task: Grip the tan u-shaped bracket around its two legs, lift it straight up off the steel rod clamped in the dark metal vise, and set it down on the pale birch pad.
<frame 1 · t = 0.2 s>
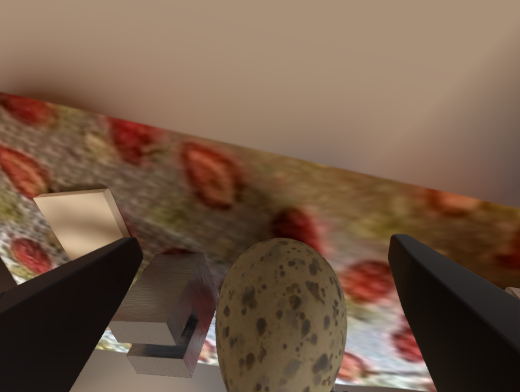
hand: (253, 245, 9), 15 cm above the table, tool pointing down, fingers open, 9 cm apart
decorative egg: (284, 255, 27), on the table
vise: (188, 278, 31), on the table
birch pad: (91, 225, 29), on the table
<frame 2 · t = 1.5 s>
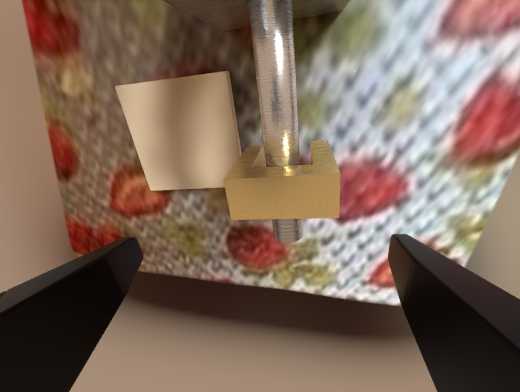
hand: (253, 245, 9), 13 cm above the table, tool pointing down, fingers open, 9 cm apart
tan u-shaped bracket: (287, 159, 19), point 2 cm above the table, touching vise
birch pad: (187, 136, 21), on the table
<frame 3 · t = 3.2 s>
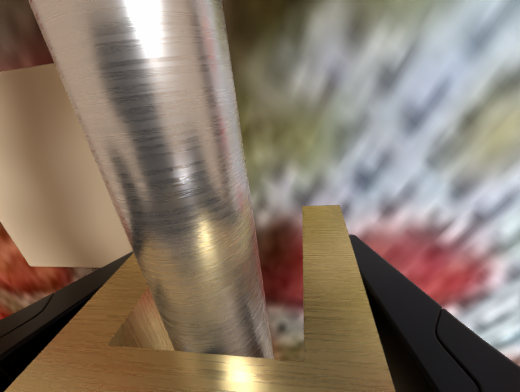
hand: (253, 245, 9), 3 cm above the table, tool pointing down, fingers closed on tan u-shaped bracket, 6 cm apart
tan u-shaped bracket: (255, 237, 9), point 2 cm above the table, touching gripper, vise
birch pad: (79, 178, 12), on the table
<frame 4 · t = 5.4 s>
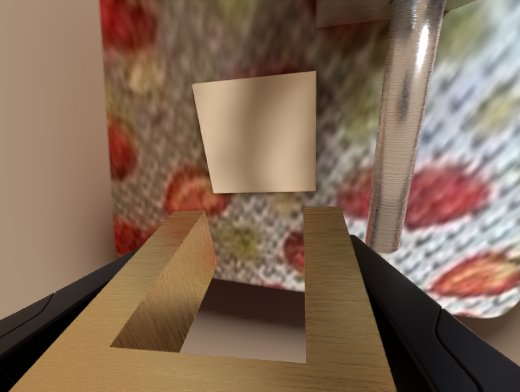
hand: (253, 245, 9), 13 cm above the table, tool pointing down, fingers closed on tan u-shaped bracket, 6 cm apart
tan u-shaped bracket: (256, 238, 9), point 13 cm above the table, touching gripper
birch pad: (259, 137, 20), on the table
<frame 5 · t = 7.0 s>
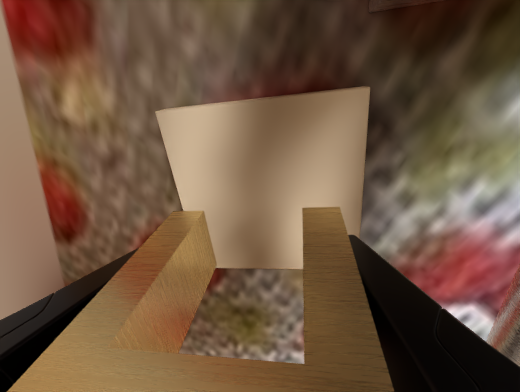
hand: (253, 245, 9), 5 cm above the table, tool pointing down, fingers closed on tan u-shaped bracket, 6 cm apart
tan u-shaped bracket: (255, 238, 9), point 4 cm above the table, touching gripper
birch pad: (267, 189, 13), on the table
when the fingers open (2 cm above the table, at t = 8.0 s): tan u-shaped bracket stays where it is, resting on birch pad.
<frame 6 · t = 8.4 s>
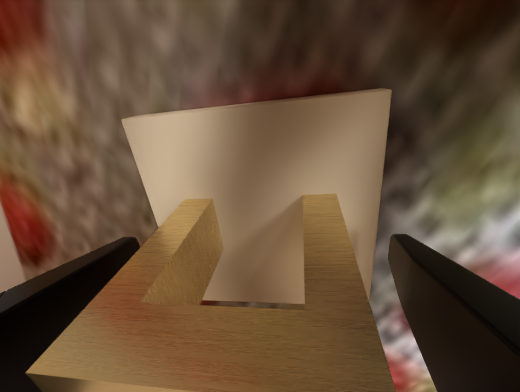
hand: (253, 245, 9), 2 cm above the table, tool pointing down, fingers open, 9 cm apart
tan u-shaped bracket: (259, 224, 10), point 1 cm above the table, touching birch pad
birch pad: (262, 211, 11), on the table
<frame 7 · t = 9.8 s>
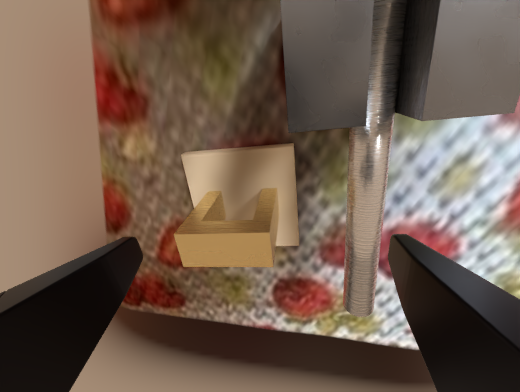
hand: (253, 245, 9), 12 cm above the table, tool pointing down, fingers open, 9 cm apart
tan u-shaped bracket: (243, 203, 21), point 1 cm above the table, touching birch pad
vise: (349, 55, 16), on the table
birch pad: (245, 197, 22), on the table
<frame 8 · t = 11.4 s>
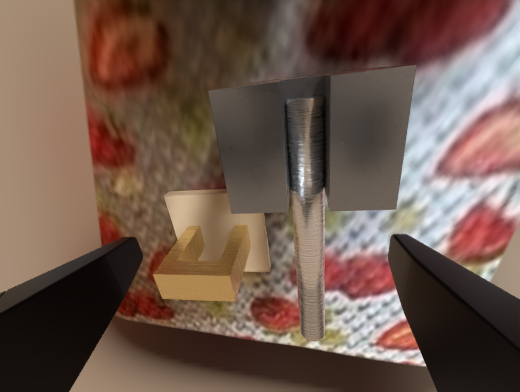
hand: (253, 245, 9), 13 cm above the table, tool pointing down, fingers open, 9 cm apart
tan u-shaped bracket: (219, 236, 24), point 1 cm above the table, touching birch pad
vise: (304, 119, 19), on the table
birch pad: (222, 230, 25), on the table
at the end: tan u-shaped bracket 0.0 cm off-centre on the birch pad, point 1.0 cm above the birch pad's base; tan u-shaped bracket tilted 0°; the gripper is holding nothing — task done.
